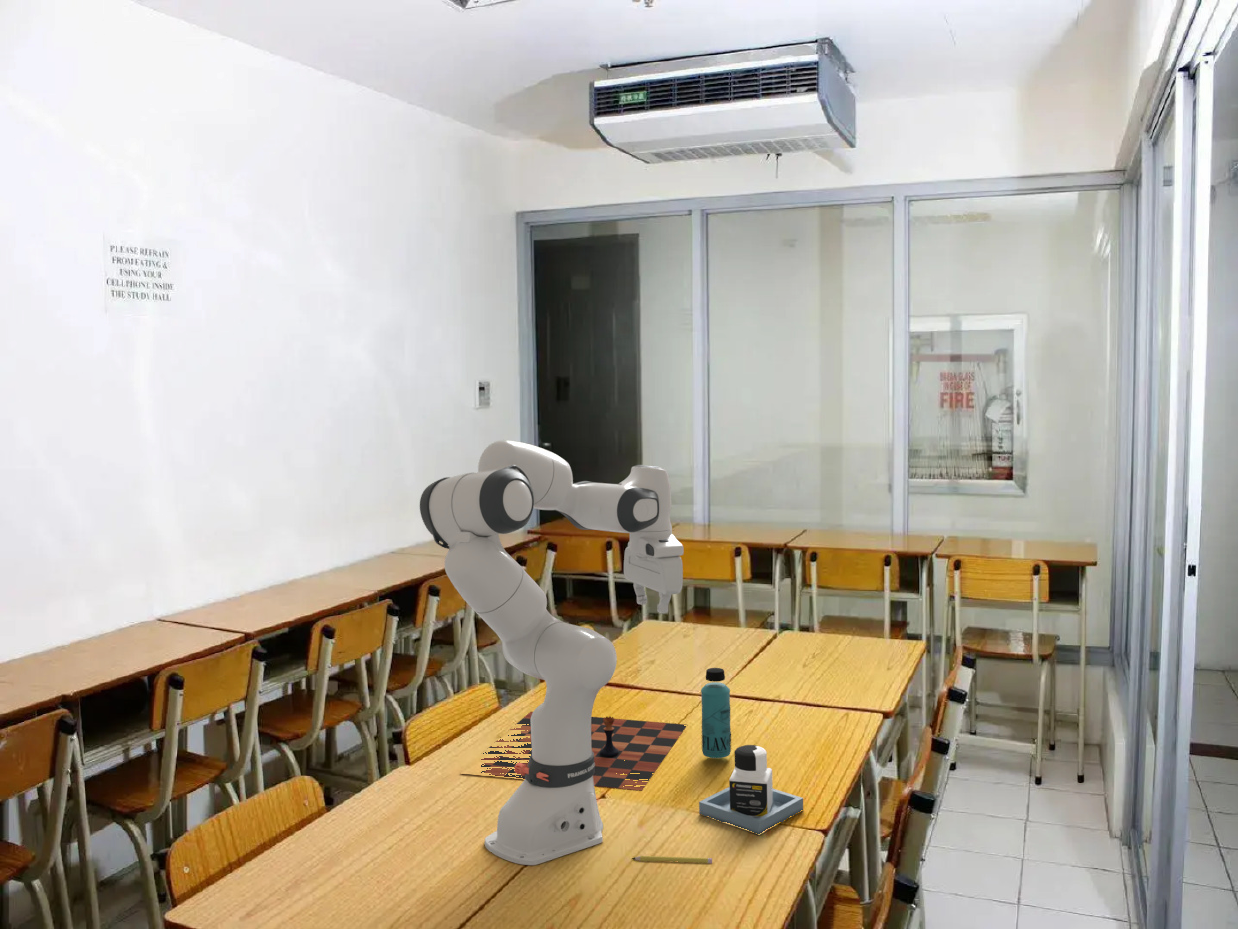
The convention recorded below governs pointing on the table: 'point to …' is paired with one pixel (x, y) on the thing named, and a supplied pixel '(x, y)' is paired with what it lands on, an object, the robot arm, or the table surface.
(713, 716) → the beverage bottle
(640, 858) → the pencil
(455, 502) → the robot arm
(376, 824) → the table surface
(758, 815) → the medicine bottle
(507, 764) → the chessboard
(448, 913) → the table surface
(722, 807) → the tray
